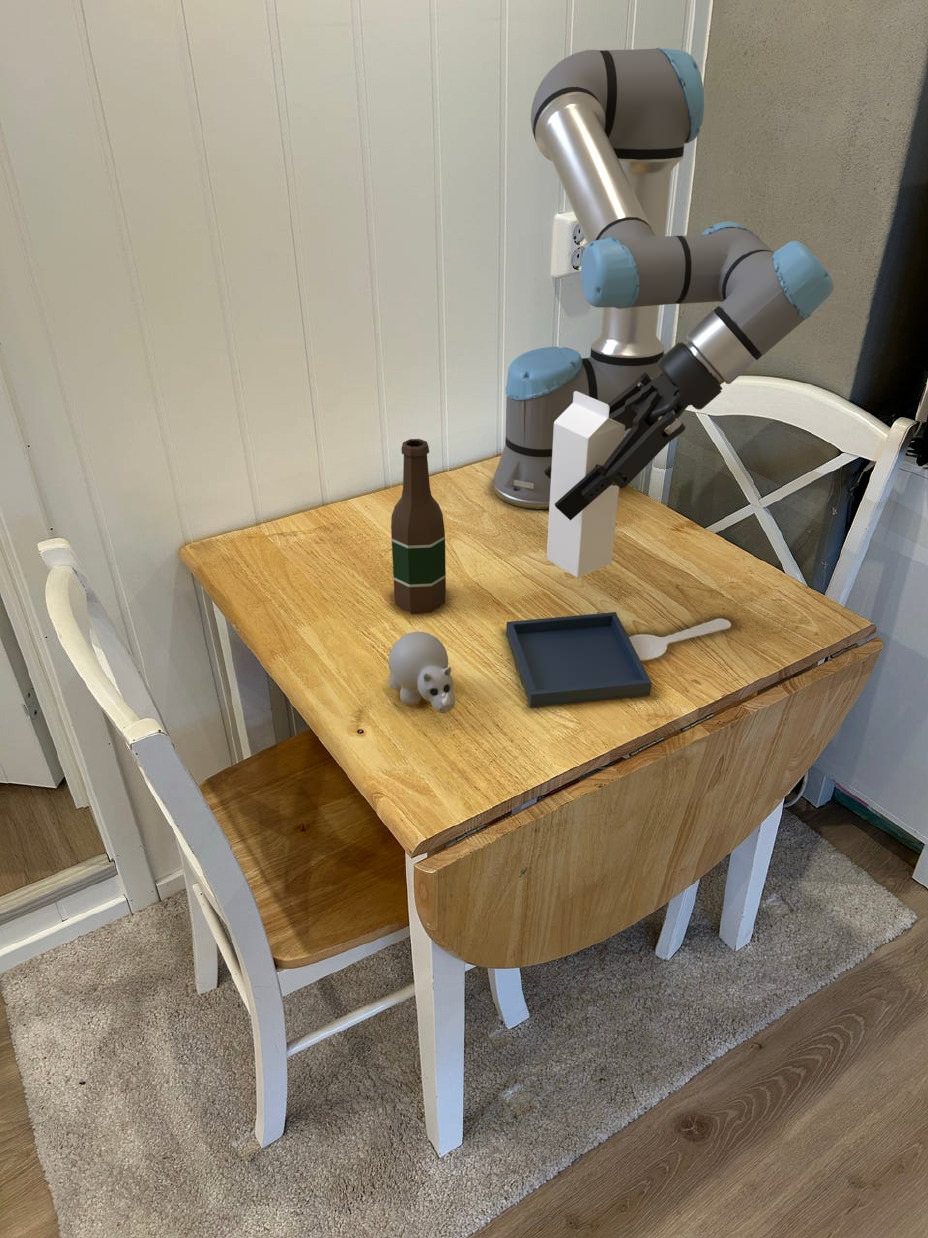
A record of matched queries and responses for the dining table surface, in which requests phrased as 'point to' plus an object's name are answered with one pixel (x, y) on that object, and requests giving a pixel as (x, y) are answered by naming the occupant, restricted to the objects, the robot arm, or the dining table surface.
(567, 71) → the robot arm
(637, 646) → the spoon
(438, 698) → the toy rhinoceros
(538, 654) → the tray
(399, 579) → the beer bottle
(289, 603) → the dining table surface
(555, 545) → the milk
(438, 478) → the dining table surface
